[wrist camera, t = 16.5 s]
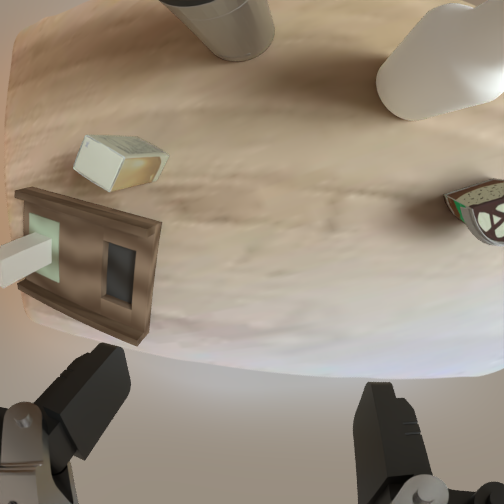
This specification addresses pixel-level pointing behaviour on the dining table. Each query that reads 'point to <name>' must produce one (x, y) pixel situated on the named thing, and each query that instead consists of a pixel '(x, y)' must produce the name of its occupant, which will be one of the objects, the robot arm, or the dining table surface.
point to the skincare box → (119, 161)
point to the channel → (93, 262)
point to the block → (24, 257)
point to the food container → (481, 209)
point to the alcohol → (446, 62)
